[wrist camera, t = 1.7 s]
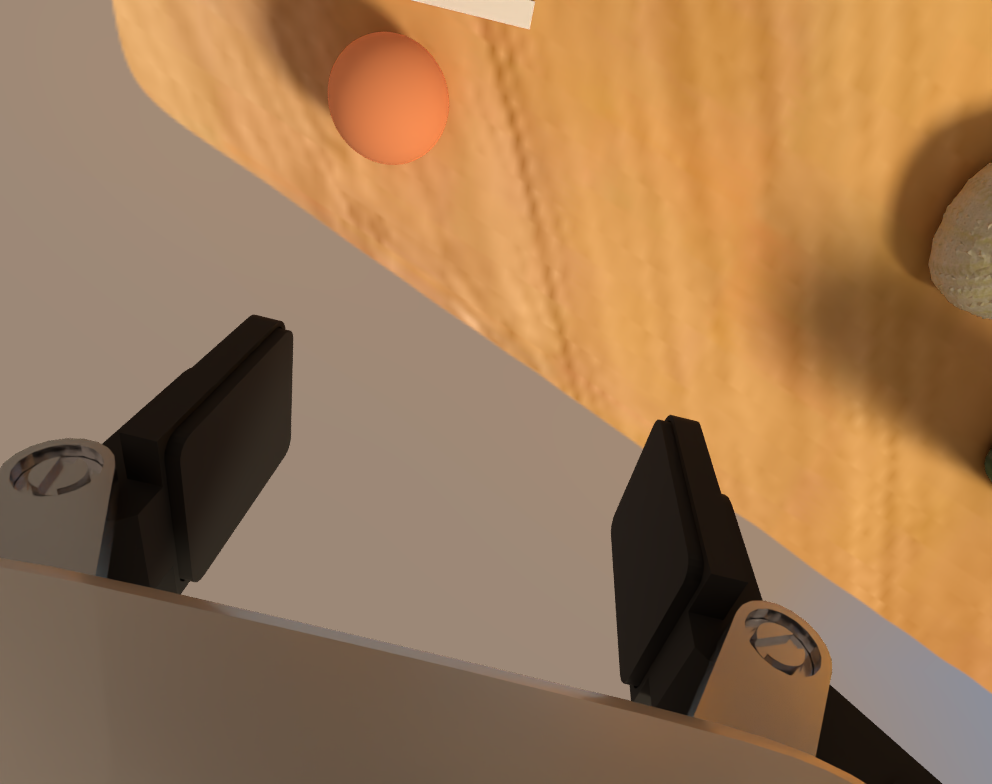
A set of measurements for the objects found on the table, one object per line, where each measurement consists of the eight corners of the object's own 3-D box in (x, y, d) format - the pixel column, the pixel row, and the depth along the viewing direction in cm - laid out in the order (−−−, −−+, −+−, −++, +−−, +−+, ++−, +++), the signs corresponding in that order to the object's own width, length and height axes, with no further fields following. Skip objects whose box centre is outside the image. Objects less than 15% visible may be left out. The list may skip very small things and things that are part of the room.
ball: (354, 18, 31) (310, 17, 26) (467, 46, 31) (445, 50, 26) (346, 139, 34) (306, 159, 29) (448, 164, 34) (425, 189, 29)
